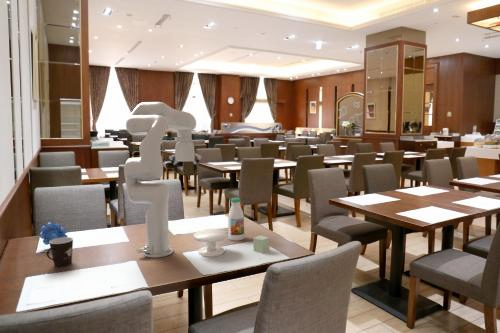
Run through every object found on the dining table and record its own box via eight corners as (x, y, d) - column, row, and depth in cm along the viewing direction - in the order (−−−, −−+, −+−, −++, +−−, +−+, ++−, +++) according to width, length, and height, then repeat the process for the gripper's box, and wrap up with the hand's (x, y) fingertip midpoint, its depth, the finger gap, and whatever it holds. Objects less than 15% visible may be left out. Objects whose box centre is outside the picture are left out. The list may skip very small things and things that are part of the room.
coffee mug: (68, 258, 163) (66, 236, 162) (78, 263, 158) (76, 239, 157) (39, 267, 154) (37, 243, 153) (49, 272, 149) (47, 247, 148)
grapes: (40, 252, 173) (38, 226, 171) (40, 248, 178) (38, 222, 177) (69, 247, 178) (67, 222, 177) (67, 243, 184) (66, 219, 183)
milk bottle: (225, 239, 186) (224, 199, 184) (233, 235, 193) (232, 196, 190) (239, 241, 182) (238, 200, 180) (247, 237, 189) (246, 197, 187)
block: (261, 253, 166) (261, 240, 165) (253, 251, 169) (253, 237, 169) (269, 250, 170) (269, 237, 169) (261, 248, 173) (260, 235, 172)
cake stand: (209, 261, 158) (208, 241, 157) (187, 253, 168) (186, 234, 167) (235, 252, 169) (235, 233, 168) (213, 244, 179) (212, 227, 178)
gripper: (166, 140, 201) (168, 173, 202) (200, 139, 201) (201, 172, 203) (169, 139, 208) (170, 171, 210) (201, 139, 208) (202, 170, 210)
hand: (185, 171), depth 206 cm, fingers open, 9 cm apart
